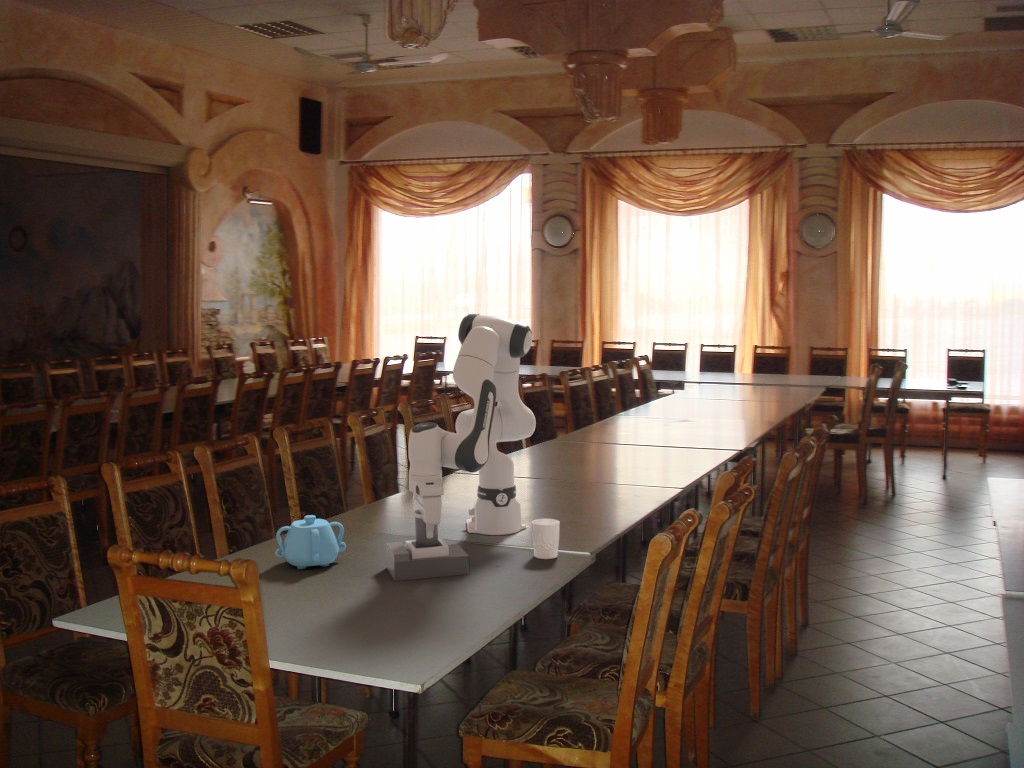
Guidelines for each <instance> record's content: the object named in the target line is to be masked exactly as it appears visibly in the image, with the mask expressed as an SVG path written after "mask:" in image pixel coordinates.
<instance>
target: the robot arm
mask: <svg viewBox="0 0 1024 768" xmlns="http://www.w3.org/2000/svg"><path fill="white" fill-rule="evenodd" d="M457 334H458V341H459V342H460V344H461V347H460V349H459V351H458V354H457V357H456V360H455V361H454V362H455V363H454V367H453V372H452V378H453V381H454V383H455V385H456V387H457V388H458V389H459V390H461V392H463V393H464V394H466V395H467V396H469V397H470V398H472V400H473V403H474V406H473V408H471V409H467V410H464V411H461V412H460V413H459V414H458V416H457V418H456V420H455V425H454V427H455V431H456V433H455V432H452V431H448V430H445V429H443V428H441V427H439V425H438V423H436V422H429V421H428V422H421V423H418V424H415V425H414V426H413V427H411V429H410V431H409V435H408V443H407V445H408V448H407V449H408V450H407V451H408V452H407V453H408V454H407V455H408V461H409V470H408V489H409V492H411V493H413V494H412V495H413V496H412V506H413V507H412V508H413V511H414V512H415V511H416V510H419V512H420V513H421V518H422V520H423V521H424V522H425V523H426V537H427V538H433V530H434V525H438V526H439V525H440V523H441V519H442V506H443V505H442V504H443V503H442V502H443V500H442V496H444V495H445V491H444V486H443V471H442V468H443V467H444V468H449V469H454V470H461V471H463V472H467V473H477V472H478V482H479V483H478V486H477V491H476V492H477V499H476V500H475V502H474V504H473V506H472V507H471V508H470V507H469V508H468V516H471V518H468V519H466V522H465V523H466V528H467V532H468V533H470V534H481V535H489V536H496V535H497V536H501V535H505V536H506V535H512V534H516V533H518V532H520V531H521V530H525V529H527V524H525V523H523V520H522V518H523V517H522V507H521V506H522V504H521V502H520V501H518V499H517V498H516V497H517V487H516V484H515V462H514V461H513V459H512V458H511V456H509V455H507V454H505V453H504V452H501V451H499V450H498V448H497V447H498V446H497V443H502V442H503V443H504V442H517V441H520V440H525V439H527V438H530V437H532V435H533V434H534V432H535V430H536V426H537V425H536V424H537V421H536V417H535V414H534V413H533V411H532V410H531V409H530V408H529V407H528V406H527V405H525V404H524V402H523V401H522V399H521V397H520V392H519V378H520V365H521V358H523V357H524V356H526V355H527V354H528V353H529V351H530V349H531V347H532V343H533V332H532V329H531V328H530V326H529V325H527V324H526V323H524V322H521V321H515V320H512V319H509V318H505V317H500V316H498V317H497V316H491V315H484V314H483V315H481V314H479V313H470V314H469V313H468V314H467V315H466V316H464V317H463V318H462V319H461V322H460V324H459V327H458V333H457ZM496 401H497V405H496Z"/></svg>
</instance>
